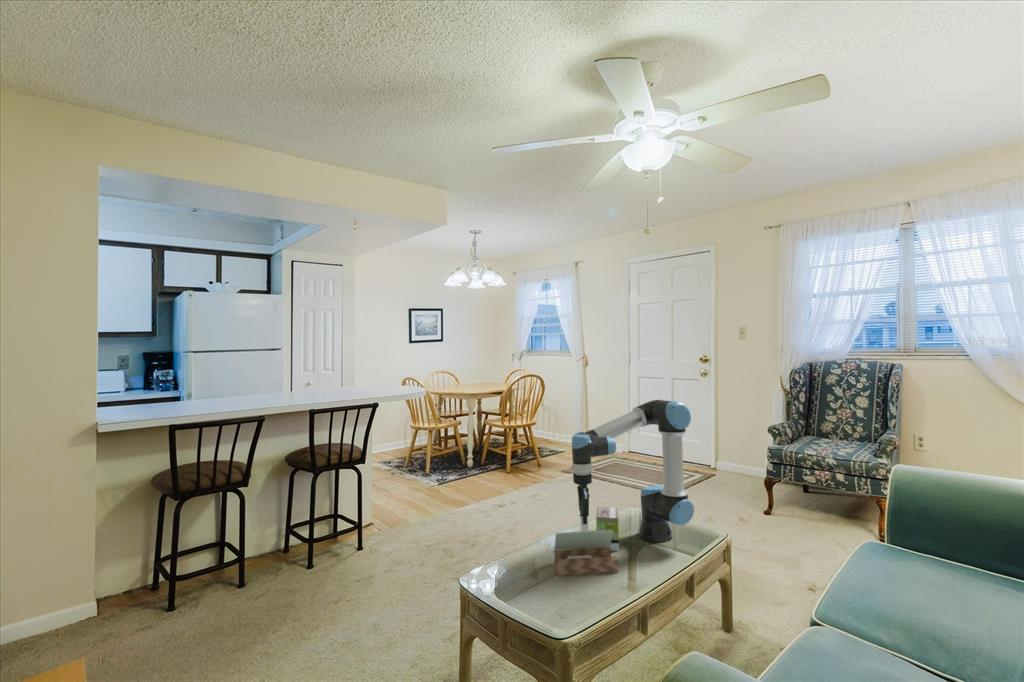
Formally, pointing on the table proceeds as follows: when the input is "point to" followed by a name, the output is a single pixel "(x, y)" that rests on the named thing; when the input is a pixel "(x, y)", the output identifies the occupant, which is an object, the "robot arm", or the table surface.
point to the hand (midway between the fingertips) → (584, 531)
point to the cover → (583, 539)
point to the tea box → (609, 524)
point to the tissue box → (585, 561)
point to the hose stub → (578, 557)
